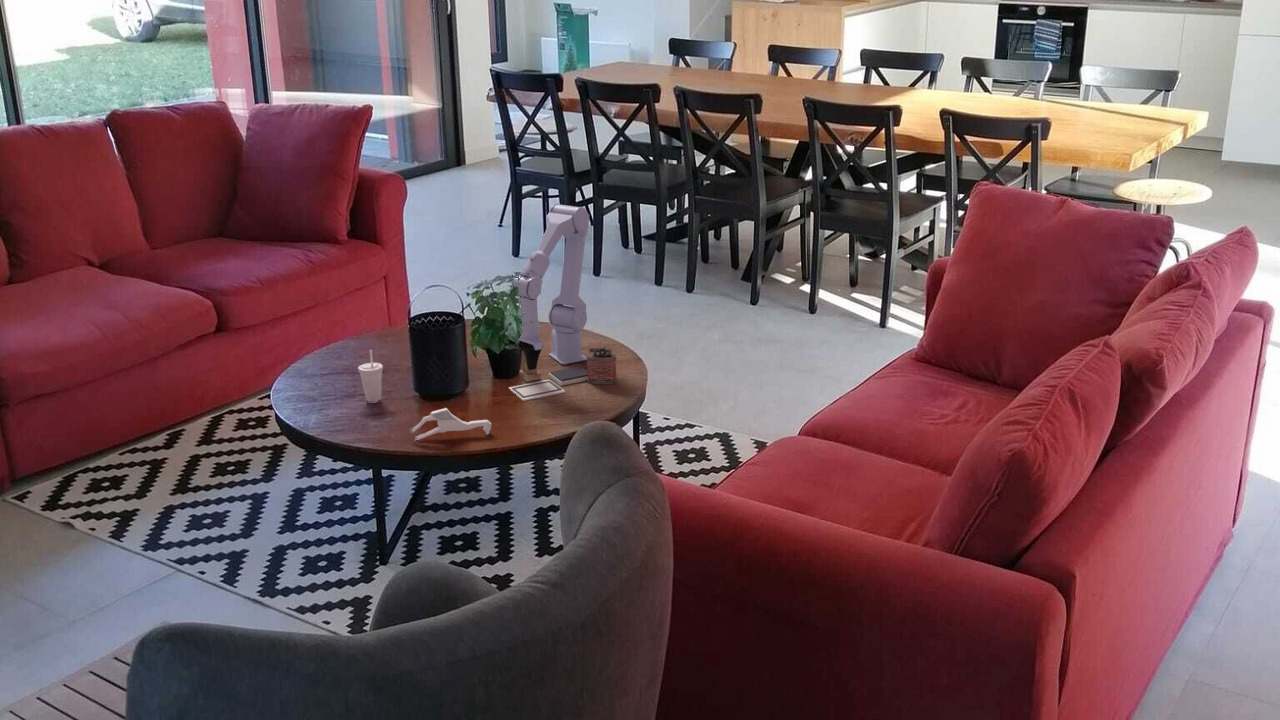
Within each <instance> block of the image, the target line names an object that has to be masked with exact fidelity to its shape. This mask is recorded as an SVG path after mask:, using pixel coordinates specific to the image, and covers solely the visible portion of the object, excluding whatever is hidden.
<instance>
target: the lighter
mask: <svg viewBox="0 0 1280 720" xmlns="http://www.w3.org/2000/svg"><path fill="white" fill-rule="evenodd" d="M612 349H613V348H612V347H605V345H602V346H600V347H597V346H590V347H589V348H588V353H589V354H587V355H586V358H587V360H586V361H587V362H586V363H587V371H588V378H587V381H586V382H587V383H588V384H592V385H593V384H595V385H614V384H617V381H618V378H617V355H616V354H612V353H613V352H612Z"/></svg>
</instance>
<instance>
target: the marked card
mask: <svg viewBox="0 0 1280 720" xmlns="http://www.w3.org/2000/svg"><path fill="white" fill-rule="evenodd" d="M509 389H510V390H509ZM508 390H509V391H511V392H512V394H514V395H515V394H516V395H515V396H517V398H519V399H520V400H522V401H523V402H525V401H530V400H535V399H536V400H537V399H541V398H544V397H551V396H555V395H559V394H565V393H566V390H564V388H561V386H560V385H559V384H557V383H556V382H555V381H553V380H552V379H551V378H549V379H544V380H540V381H535V382H530V383H525V384H520V385H514V386H508Z"/></svg>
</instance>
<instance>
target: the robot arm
mask: <svg viewBox="0 0 1280 720" xmlns="http://www.w3.org/2000/svg"><path fill="white" fill-rule="evenodd" d="M546 221H547V227H546V229H545V232H544V234H543V236H542V238H541V240H540V243H539V246H538V247H537V251H534V252H531V253H530V255H529V257H528V258H527V261H526V263H525V264H524V266H523V268H522V270H521V272H520V274H522V275H523V276H522V277H521V276H520V274H519V275H517V276H516V277H518V276H519V278H520V277H521V278H520V280H519V281H517V280H518V278H515V277H514V278H513V279H512V281H511V284H512V289H513V285H514V286H515V285H517V286H518V287H519V290H520V292H519V296H520V298H519V297H518V300H519V307H520V300H521V308H520V314H521V315H522V314H524V315H522V316H523V319H522V329H523V331H522V332H523V333H521V336H520V338H519V339H518V340H517V341H522V342H523V345H522V342H521V344H520V346H519V347H520V348H521V350H520V353H521V357H520V360H521V361H522V352H521V351H524V354H525V357H526V362H527V367H528V370H533V369H536V367H537V368H538V362H539V361H538V360H539V358H540V354H541V352H542V350H543V349H544V345H543V342H542V341H541V337H540V334H539V316H538V314H539V313H538V312H539V311H538V297H539V296H540V294H541V293H542V285H543V277H544V276H545V274H546V272H547V270H548V268H549V266H550V265H551V261H550V255H551V254H552V252H553V251H554V250H555V248H556V246H557V244H558V243H559V241H560V240H561V238H562V236H563V237H564V238H565V247H564V255H563V256H564V257H563V258H564V259H563V266H562V273H561V274H562V275H561V282H560V293H559V294H558V295H557V296H556V297H554V298H553V299H552V300H551V306H550V308H549V311H548V315H547V317H548V321H549V324H550V325H551V326H552V330H551V335H550V336H551V337H550V338H551V341H550V342H551V352H550V353H548V356H550V357H551V358H552V359H554V360H555V361H556V362H557V363H560V364H561V365H568V364H574V363H578V362H582V361H583V362H585V361H587V356H585V355H584V354H582V353H583V351H582V330H584V328H585V327H586V324H587V320H588V315H587V303H586V302H585V301H584V300H583V299H582V298H581V297H580V288H581V279H582V271H583V263H584V254H585V246H586V245H585V244H586V237H587V236H588V231H589V223H590V214H589V212H588V210H587V209H586V208H585V207H583V206H573V205H566V204H560V203H554V204H552V205H551V207H550V208H549V210H548V214H547V215H546ZM518 284H519V285H520V286H519V285H518ZM512 289H511V290H512ZM531 289H533V291H532V290H531ZM511 290H510V289H509V291H510V293H511ZM536 291H538V292H536ZM521 294H522V296H523V301H524V304H523V301H522V296H521ZM522 307H523V308H522ZM524 312H525V313H524ZM526 314H527V315H526ZM520 353H519V354H520Z"/></svg>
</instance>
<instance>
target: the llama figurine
mask: <svg viewBox="0 0 1280 720" xmlns="http://www.w3.org/2000/svg"><path fill="white" fill-rule="evenodd" d="M430 421H437V427H434V428H433V429H431V430H429V431H426V432H424V433H421V434H418V435H417V436H415V437H414V438H415V439H414V441H416V440H419V441H420V440H422V439H424V438H426V437H430V436H432V435H435V434H438V433H441V434H442V433H444V434H445V433H447V432H455V431H456V432H460V431H461V432H463V431H467V430H472V429H475V428H480V427H483V431H484V432H485V434H486V435H489V434H490V432H491V429H492V423H491V421H490V420H488V419H481V420H480V419H478V420H470V421H469V422H468V421H464V420H462V419H460V418H459V417H457V416H455V415H454V414H453V413H452V412H451V411H450V410H449V409H448V408H447V407H444V408H441V409H437V410H433V411H431V412H430V413H429V415H427V416H423V417H422V419H421V420H420V421H419V422H418V424H416V425H415V426H414V427H411V428H410V429H409V430H410V432H409V433H411V434H414V433H415V432H416V431H417V430H418V429H420V428H421V427H422V426H423V425H424V424H425V423H426V422H430ZM416 438H417V439H416ZM416 442H417V441H416Z"/></svg>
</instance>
